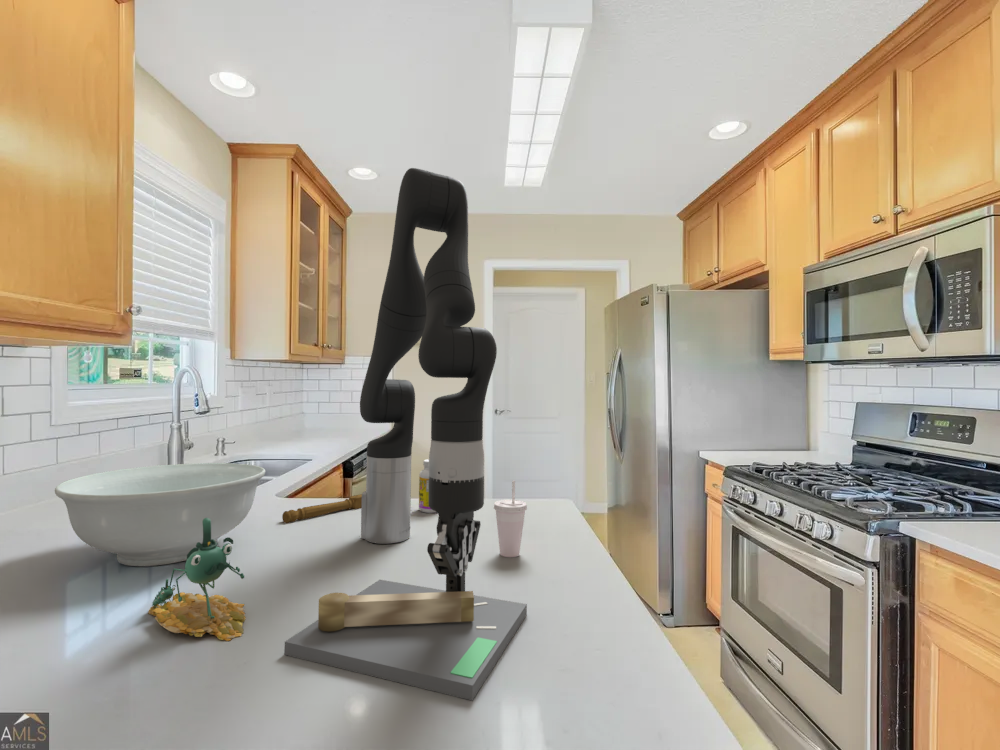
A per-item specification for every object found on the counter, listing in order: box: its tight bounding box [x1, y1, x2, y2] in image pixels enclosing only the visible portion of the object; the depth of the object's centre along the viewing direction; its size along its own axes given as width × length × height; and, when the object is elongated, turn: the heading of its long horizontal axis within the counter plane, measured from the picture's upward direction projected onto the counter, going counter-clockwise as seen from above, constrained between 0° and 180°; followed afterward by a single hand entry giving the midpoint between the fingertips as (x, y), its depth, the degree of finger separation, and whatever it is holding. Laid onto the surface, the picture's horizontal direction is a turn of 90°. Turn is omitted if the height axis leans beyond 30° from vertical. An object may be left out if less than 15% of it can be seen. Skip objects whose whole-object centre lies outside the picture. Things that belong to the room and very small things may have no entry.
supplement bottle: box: [418, 458, 437, 514], centre depth 126 cm, size 7×7×13 cm
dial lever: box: [317, 590, 474, 632], centre depth 62 cm, size 19×4×3 cm, turn 97°
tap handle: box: [282, 493, 362, 524], centre depth 124 cm, size 3×3×30 cm
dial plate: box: [283, 579, 528, 701], centre depth 63 cm, size 24×20×2 cm
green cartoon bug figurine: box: [147, 518, 247, 642], centre depth 66 cm, size 10×18×15 cm, turn 57°
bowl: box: [54, 462, 266, 567], centre depth 92 cm, size 32×32×15 cm
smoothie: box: [493, 480, 528, 558], centre depth 94 cm, size 6×6×14 cm
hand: (455, 600), depth 66 cm, fingers closed
